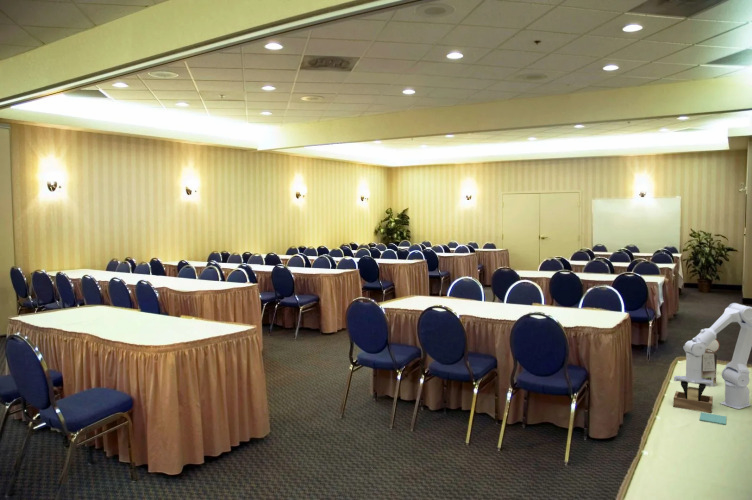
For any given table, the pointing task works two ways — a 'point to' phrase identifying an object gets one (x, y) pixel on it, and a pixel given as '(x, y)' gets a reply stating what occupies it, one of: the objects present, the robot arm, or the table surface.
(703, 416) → the teal mat
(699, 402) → the walnut crate
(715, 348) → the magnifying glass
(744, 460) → the table surface
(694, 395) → the maple block
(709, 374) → the coffee box
